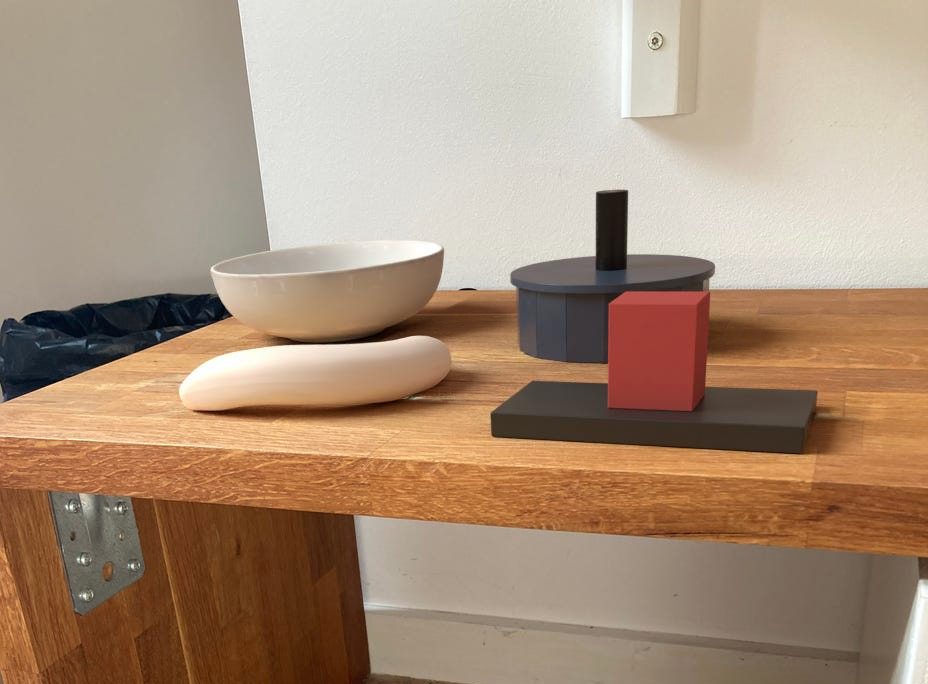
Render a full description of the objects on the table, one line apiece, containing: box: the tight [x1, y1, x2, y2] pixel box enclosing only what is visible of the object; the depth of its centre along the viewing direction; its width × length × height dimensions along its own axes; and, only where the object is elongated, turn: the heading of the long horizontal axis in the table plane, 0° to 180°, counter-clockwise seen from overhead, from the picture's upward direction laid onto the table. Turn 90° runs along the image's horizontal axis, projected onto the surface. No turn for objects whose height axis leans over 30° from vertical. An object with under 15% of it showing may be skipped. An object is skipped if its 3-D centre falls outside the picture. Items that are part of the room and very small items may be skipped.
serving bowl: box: [210, 239, 445, 344], centre depth 93 cm, size 21×21×7 cm
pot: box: [515, 278, 711, 365], centre depth 81 cm, size 15×15×6 cm
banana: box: [178, 335, 453, 411], centre depth 73 cm, size 5×19×15 cm
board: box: [490, 380, 819, 455], centre depth 62 cm, size 18×8×2 cm, turn 68°
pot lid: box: [509, 189, 716, 294], centre depth 78 cm, size 16×16×7 cm
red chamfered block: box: [607, 291, 711, 412], centre depth 60 cm, size 5×4×6 cm
